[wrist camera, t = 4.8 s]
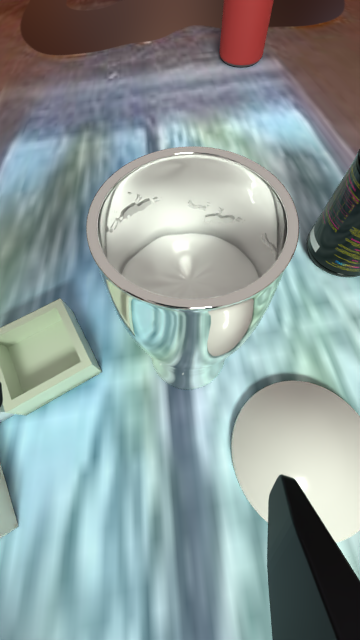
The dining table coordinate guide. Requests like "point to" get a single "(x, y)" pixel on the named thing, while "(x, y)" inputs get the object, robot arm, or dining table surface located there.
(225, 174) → the beer glass
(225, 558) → the dining table surface
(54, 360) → the sage dish
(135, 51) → the dining table surface
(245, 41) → the beer can
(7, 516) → the cream dish
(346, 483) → the stone coaster
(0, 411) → the pale blue dish
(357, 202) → the supplement container
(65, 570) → the dining table surface
